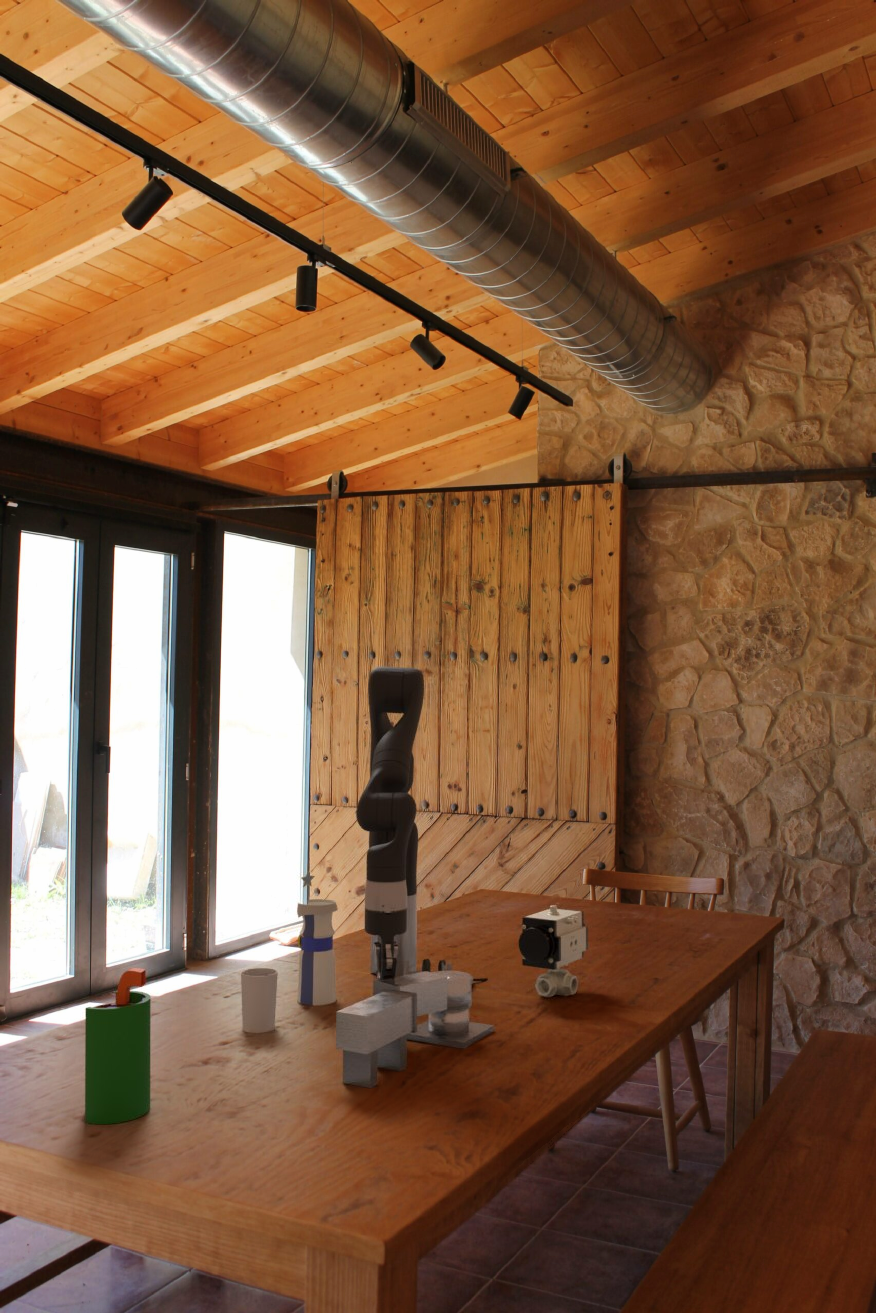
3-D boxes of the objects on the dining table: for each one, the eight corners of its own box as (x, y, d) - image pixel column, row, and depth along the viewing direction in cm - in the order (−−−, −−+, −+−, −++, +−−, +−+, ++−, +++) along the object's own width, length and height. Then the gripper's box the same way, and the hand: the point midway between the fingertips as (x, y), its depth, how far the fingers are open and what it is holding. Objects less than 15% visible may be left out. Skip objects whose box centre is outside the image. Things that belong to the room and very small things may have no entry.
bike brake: (456, 998, 216) (487, 990, 234) (457, 962, 217) (488, 957, 236) (392, 993, 221) (428, 985, 239) (394, 958, 222) (429, 953, 240)
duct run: (368, 1091, 164) (369, 1014, 165) (334, 1085, 167) (334, 1009, 168) (416, 1064, 177) (417, 992, 178) (383, 1058, 180) (384, 988, 181)
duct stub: (402, 1038, 191) (402, 1009, 191) (434, 1021, 202) (435, 994, 202) (463, 1048, 186) (463, 1018, 186) (493, 1030, 196) (493, 1002, 196)
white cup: (262, 1020, 202) (263, 966, 202) (284, 1028, 197) (285, 972, 198) (232, 1027, 197) (233, 971, 198) (253, 1035, 193) (254, 978, 193)
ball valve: (555, 1006, 213) (555, 914, 214) (517, 1000, 217) (517, 910, 218) (594, 987, 228) (593, 901, 229) (557, 982, 232) (557, 897, 233)
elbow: (450, 996, 200) (450, 962, 200) (480, 1005, 194) (480, 970, 194) (369, 1015, 187) (369, 978, 187) (399, 1025, 181) (399, 987, 181)
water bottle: (285, 1002, 215) (287, 874, 216) (310, 993, 222) (311, 869, 224) (320, 1008, 211) (321, 877, 212) (344, 998, 219) (345, 872, 220)
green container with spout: (93, 1099, 160) (96, 961, 161) (155, 1097, 161) (158, 960, 162) (76, 1125, 150) (80, 977, 151) (143, 1123, 151) (145, 976, 152)
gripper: (361, 898, 199) (360, 994, 199) (368, 912, 186) (367, 1015, 186) (402, 897, 201) (401, 993, 200) (412, 911, 188) (411, 1013, 187)
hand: (385, 1003), depth 193 cm, fingers closed
